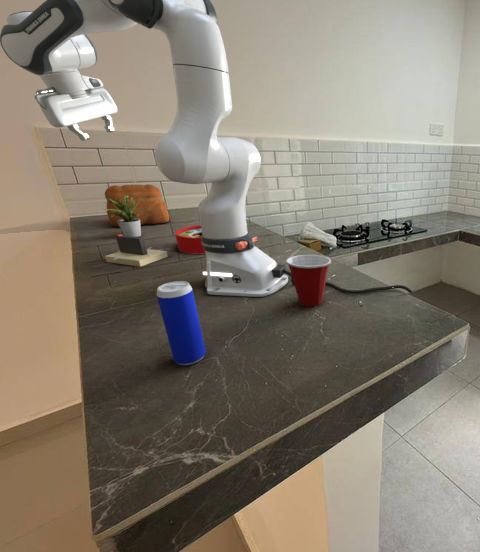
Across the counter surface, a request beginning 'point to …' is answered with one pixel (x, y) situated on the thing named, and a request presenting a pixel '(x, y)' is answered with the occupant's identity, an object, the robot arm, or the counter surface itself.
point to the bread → (148, 200)
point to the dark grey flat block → (131, 244)
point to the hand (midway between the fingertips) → (99, 135)
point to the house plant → (127, 217)
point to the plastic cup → (309, 277)
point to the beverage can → (181, 322)
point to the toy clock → (190, 240)
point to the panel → (136, 257)
